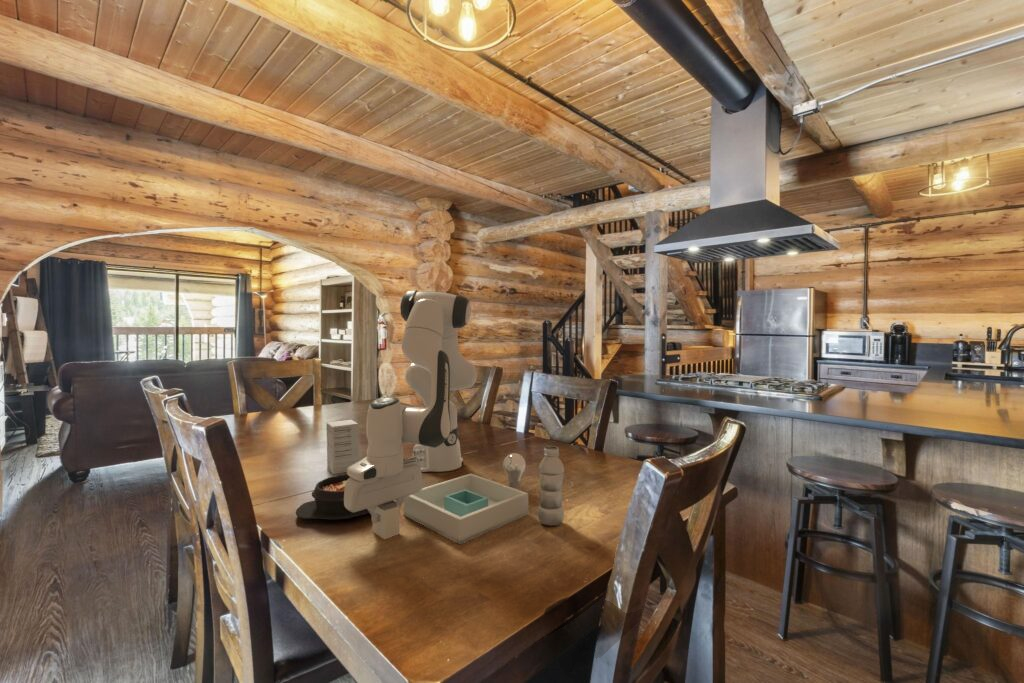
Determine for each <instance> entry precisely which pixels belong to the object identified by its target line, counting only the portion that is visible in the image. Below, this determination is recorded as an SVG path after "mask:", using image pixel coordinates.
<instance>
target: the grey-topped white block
mask: <svg viewBox="0 0 1024 683" xmlns="http://www.w3.org/2000/svg"><path fill="white" fill-rule="evenodd" d="M374 511H375V513H377V514H379V515H380V522H377V523H373V522H372V533H374V534H375V533H376V534H375V535H376V536H378V535H379V536H378V537H380V538H382V539H383V538H384V539H383V540H385V539H386V540H388V539H390V538H389V537H391V538H393V537H392V536H394V537H396V536H399V535H400V533H401V532H400V515H399V506H397V502H396V500H393V501H390V502H387V503H383V504H380V505H377V506H376V510H374ZM398 534H399V535H398ZM395 535H396V536H395ZM387 538H388V539H387Z"/></svg>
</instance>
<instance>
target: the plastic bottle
mask: <svg viewBox="0 0 1024 683" xmlns="http://www.w3.org/2000/svg"><path fill="white" fill-rule="evenodd" d="M543 456H544V457H543V458H542V460H541V462H540V463H539V466H538V473H539V482H540V496H539V497H540V498H539V505H538V511H537V515H538V517H537V518H538V520H539V522H540V524H542V525H544V526H548V527H551V526H552V527H553V526H554V527H555V526H559V525H560V524H561V523H562V522H563V520H564V515H565V514H564V507H563V498H562V497H563V496H562V488H563V480H564V472H565V467H564V464H563V462H562V461H561V459H560V458H559V457H558V456H560V453H559V447H557V446H554V445H553V446H552V445H548V446H544V448H543Z"/></svg>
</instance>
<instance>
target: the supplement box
mask: <svg viewBox="0 0 1024 683" xmlns="http://www.w3.org/2000/svg"><path fill="white" fill-rule="evenodd" d="M325 427H326V458H327V460H326V461H327V463H326V468H327V470H328V471H329V472H331V474H332V475H337V474H342V473H343V474H344V473H347V469H348V467H350V466H352V465H353V464H355V463H357V462H359V461H360V441H359V440H360V439H359V436H360V434H359V431H360V430H359V423H358V422H356V421H355V420H353V419H347V420H339V421H338V420H336V421H329V422H326V426H325Z"/></svg>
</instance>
